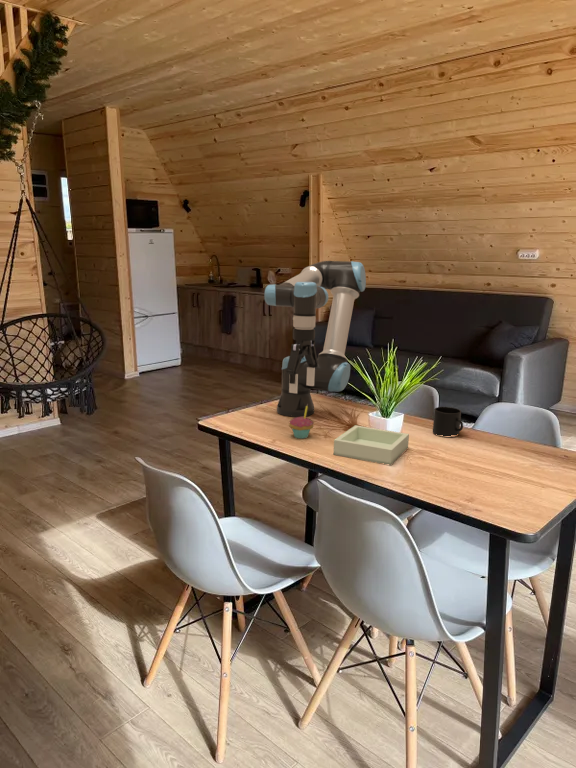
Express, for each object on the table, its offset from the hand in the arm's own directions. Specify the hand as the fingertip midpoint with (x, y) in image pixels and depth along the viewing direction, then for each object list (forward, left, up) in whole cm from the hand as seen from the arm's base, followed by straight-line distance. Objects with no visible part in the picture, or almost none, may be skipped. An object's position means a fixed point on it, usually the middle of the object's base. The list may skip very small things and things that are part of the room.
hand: (301, 389), depth 210 cm
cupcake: (0, 0, -18) cm, 18 cm away
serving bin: (+2, +27, -17) cm, 32 cm away
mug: (-31, +45, -18) cm, 57 cm away
